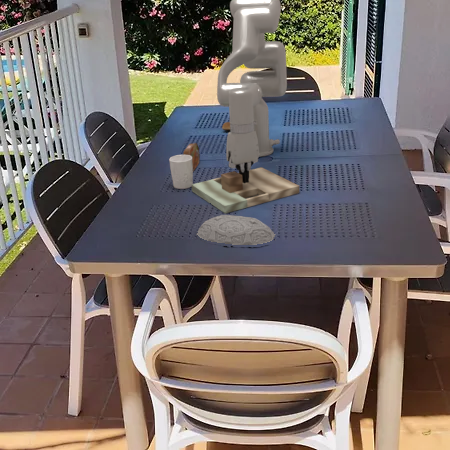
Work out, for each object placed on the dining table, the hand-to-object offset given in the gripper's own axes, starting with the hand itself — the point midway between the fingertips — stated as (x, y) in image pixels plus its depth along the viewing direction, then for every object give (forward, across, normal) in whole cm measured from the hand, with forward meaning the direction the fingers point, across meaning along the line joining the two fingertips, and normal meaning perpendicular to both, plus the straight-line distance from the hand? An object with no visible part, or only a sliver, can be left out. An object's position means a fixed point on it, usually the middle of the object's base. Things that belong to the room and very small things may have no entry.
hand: (244, 181), depth 199 cm
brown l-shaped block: (+4, -39, -66) cm, 77 cm away
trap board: (+4, 0, 0) cm, 4 cm away
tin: (+4, +2, -34) cm, 34 cm away
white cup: (+4, +14, -19) cm, 24 cm away
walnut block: (+1, +5, 0) cm, 5 cm away
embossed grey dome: (+5, +19, +26) cm, 33 cm away
